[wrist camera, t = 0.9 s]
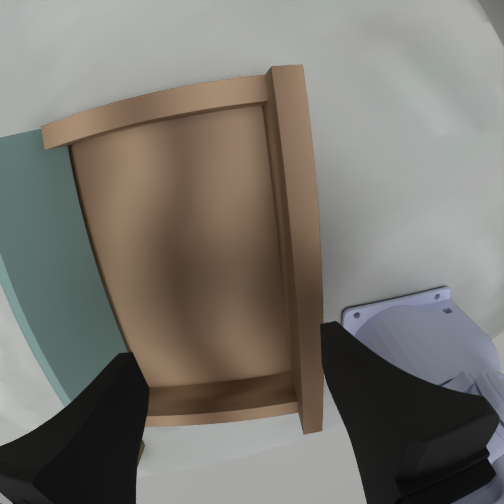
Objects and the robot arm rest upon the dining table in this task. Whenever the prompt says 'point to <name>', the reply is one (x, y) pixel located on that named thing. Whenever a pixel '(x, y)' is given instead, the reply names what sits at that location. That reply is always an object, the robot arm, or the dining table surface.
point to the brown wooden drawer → (209, 243)
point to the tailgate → (52, 266)
